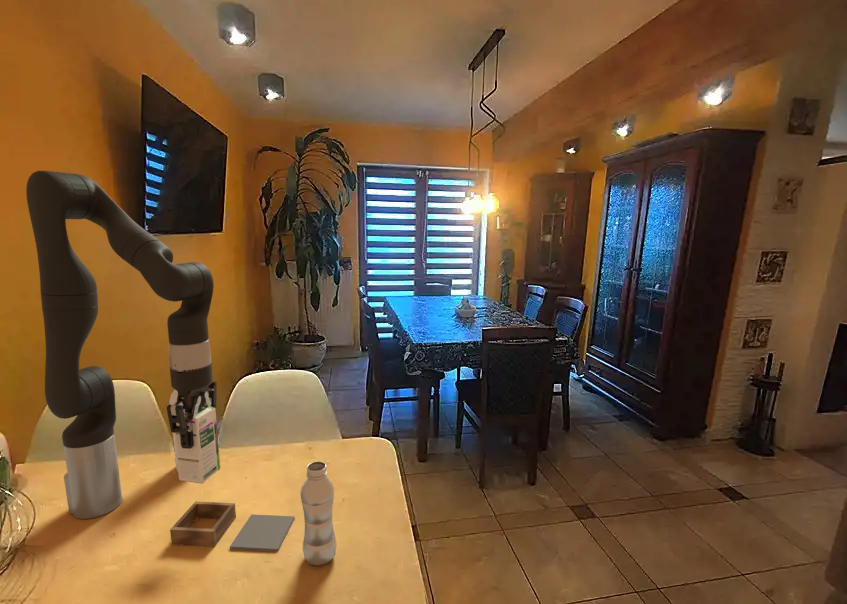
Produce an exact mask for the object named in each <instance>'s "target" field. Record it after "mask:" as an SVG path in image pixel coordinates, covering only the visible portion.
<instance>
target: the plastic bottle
mask: <svg viewBox="0 0 847 604" xmlns="http://www.w3.org/2000/svg"><path fill="white" fill-rule="evenodd" d="M327 475H328V470H327V464H326V463H325V462H324V461H319V460H317V461H312V462H310V463H309V464H307V467H306V480H305V481H304V482H303V484H302V486H301V489H300V492H299V493H300V500H301V505H302V512H303V518H304V519H303V520H304V534H303V536H304V537H303V542H302V552H303V556H304V559H305V560H306V562H308V563H309V564H310V565H314V566H323V565H326V564H327V563H329V562H330V561H331V560H332V559H333V558H334V557H335V555H336V551H337V539H336V535H335V529H334V523H333V509H334V507H333V505H334V499H335V497H334V496H335V486H334V484H333V483H332V481H331V480H330V478H329V477H328V476H327Z"/></svg>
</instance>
